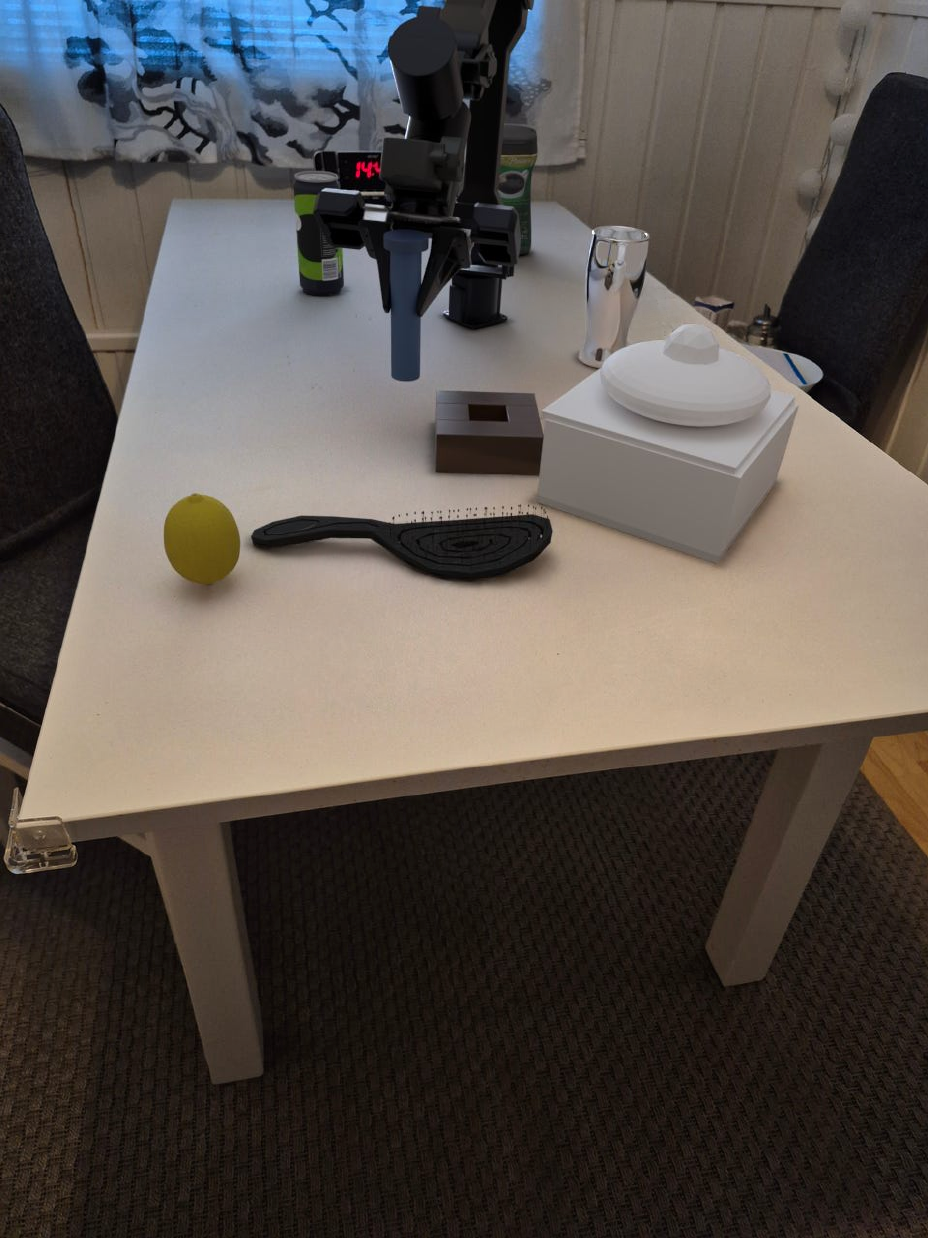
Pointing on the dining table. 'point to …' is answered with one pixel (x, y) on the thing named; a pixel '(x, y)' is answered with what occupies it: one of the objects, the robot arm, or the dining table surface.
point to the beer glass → (612, 289)
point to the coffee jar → (518, 175)
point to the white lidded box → (668, 443)
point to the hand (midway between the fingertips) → (402, 312)
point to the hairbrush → (429, 540)
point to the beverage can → (315, 237)
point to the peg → (405, 300)
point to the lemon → (201, 539)
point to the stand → (487, 432)
